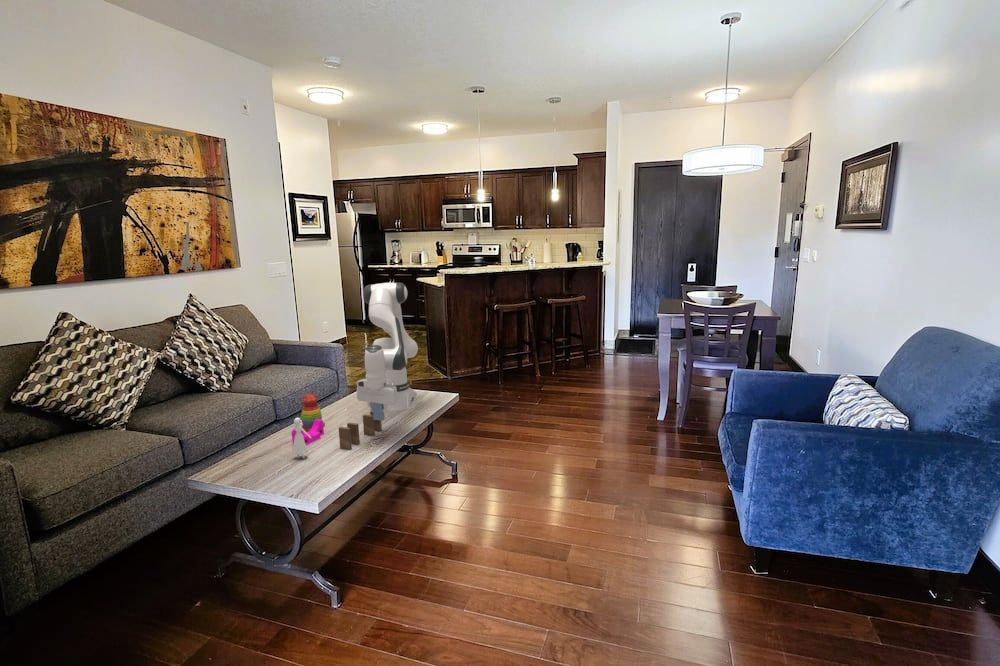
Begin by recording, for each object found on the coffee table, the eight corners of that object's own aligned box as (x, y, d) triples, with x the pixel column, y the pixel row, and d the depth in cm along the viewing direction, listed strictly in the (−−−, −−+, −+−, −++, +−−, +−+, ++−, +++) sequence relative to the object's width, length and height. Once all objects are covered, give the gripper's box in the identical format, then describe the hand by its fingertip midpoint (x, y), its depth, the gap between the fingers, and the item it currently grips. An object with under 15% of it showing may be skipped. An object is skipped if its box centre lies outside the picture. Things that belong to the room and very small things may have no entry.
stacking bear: (325, 424, 240) (322, 390, 237) (323, 431, 230) (320, 396, 227) (302, 426, 237) (299, 392, 234) (299, 434, 228) (296, 398, 225)
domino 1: (342, 447, 211) (341, 426, 209) (351, 449, 209) (350, 428, 207) (340, 449, 209) (338, 427, 208) (349, 451, 207) (347, 429, 206)
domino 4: (375, 418, 215) (374, 397, 213) (384, 419, 214) (383, 398, 212) (373, 419, 214) (371, 398, 212) (382, 420, 212) (381, 399, 210)
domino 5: (373, 430, 231) (372, 410, 229) (381, 431, 229) (380, 411, 227) (371, 431, 229) (370, 411, 228) (379, 432, 227) (378, 413, 226)
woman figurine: (316, 456, 202) (313, 416, 199) (310, 461, 198) (306, 420, 195) (292, 455, 204) (288, 415, 201) (285, 459, 200) (281, 418, 197)
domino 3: (366, 434, 226) (364, 414, 224) (374, 435, 224) (373, 415, 222) (364, 435, 224) (362, 415, 223) (372, 437, 222) (371, 416, 221)
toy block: (302, 447, 212) (301, 431, 211) (292, 445, 215) (291, 429, 213) (328, 435, 226) (326, 420, 224) (318, 433, 228) (317, 418, 227)
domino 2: (350, 443, 216) (349, 422, 214) (359, 444, 214) (358, 423, 212) (348, 444, 214) (346, 423, 213) (357, 446, 212) (356, 424, 211)
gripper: (400, 382, 209) (402, 412, 212) (362, 378, 217) (364, 406, 220) (392, 386, 204) (394, 417, 206) (353, 382, 211) (355, 411, 214)
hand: (378, 411), depth 213 cm, fingers closed on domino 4, 5 cm apart
